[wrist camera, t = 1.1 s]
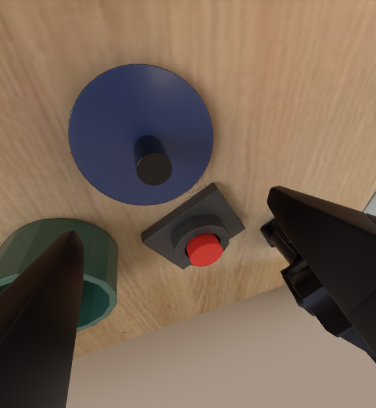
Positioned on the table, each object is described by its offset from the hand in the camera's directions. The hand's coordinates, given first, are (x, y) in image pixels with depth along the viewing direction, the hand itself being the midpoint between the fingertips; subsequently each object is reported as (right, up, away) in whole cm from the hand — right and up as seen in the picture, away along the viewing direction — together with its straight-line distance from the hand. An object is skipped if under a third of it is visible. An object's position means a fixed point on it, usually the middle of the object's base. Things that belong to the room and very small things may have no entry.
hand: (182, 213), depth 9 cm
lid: (-3, +6, +8) cm, 11 cm away
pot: (-14, -6, +14) cm, 21 cm away
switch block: (+1, -3, +17) cm, 17 cm away
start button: (+2, -5, +15) cm, 16 cm away
